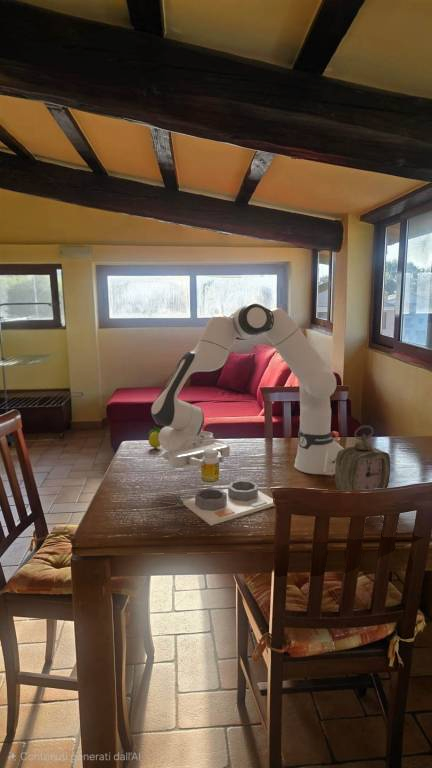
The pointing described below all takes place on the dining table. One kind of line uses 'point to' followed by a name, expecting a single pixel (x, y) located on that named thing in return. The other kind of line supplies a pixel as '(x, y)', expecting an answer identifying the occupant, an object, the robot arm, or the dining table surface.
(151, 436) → the lemon
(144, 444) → the dining table surface
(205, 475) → the supplement bottle
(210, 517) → the socket board
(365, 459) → the tabletop clock
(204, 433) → the cup
